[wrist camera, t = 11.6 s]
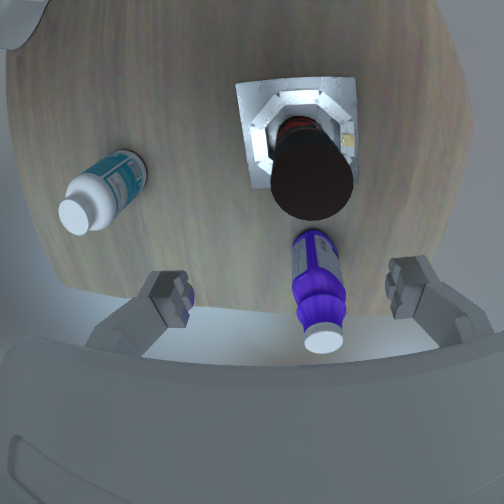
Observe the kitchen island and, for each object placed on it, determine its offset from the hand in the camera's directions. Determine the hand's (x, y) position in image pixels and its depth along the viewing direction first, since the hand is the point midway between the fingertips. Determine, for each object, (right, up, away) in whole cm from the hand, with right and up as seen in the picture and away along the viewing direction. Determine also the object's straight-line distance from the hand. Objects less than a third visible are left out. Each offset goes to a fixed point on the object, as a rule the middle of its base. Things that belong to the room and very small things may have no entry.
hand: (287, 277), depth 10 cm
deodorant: (+5, +15, +20) cm, 25 cm away
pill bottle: (-20, +13, +25) cm, 35 cm away
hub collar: (+5, +15, +20) cm, 26 cm away
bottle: (+8, +2, +30) cm, 31 cm away
